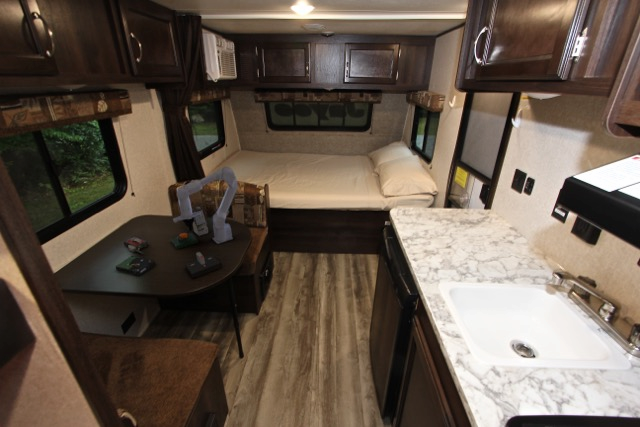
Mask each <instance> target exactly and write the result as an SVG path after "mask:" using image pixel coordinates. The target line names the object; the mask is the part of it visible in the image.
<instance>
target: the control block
mask: <svg viewBox="0 0 640 427" xmlns="http://www.w3.org/2000/svg"><path fill="white" fill-rule="evenodd" d="M170 242H171V244H172V246H174V248H175V249H176V250H179V249H182V248H186V247H189V246H191V245H192V246H193V245H195V244H198V243H199V239H198V238H197V237H196V236H195V235H194V234H193V232H190V233H187V237H186V238H184V239H181V238H180V236H179V235H178V236H177V237H174V238H171V239H170Z"/></svg>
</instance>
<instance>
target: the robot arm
mask: <svg viewBox="0 0 640 427" xmlns="http://www.w3.org/2000/svg"><path fill="white" fill-rule="evenodd" d="M215 181H220V182H223V181H224V182H225V183H226V184H227V188H226V190H225V192H224V194H223V198H222V200H221V203H220V204H219V207H218V209H217V210H216V212H215V213H214V214H213V215H212V224H213V225H212V229H213V236H214V237H212V240H213V241H214V242H215V243H216V244H217V245H219V244H222V243H225V242H228V241H231V240H233V239H234V237H233V234H232V233H233V232H232V228H231V225H230V224H229V223H226V218H227V214H228V212H229V210H230V206H231V204H232V202H233V199H234V198H235V195H236V192H237V190H238V187H239V185H238V181H237V177H236V174H235V172H234V171H233V169H232V168H231V166H230V167H229V166H223V167H222V168H218V169H217V170H215V171H213V172H212V173H210V174H208V175H207V176H205V177H203V178H201V179H200V180H199V179H195V180H194V179H192V180H191V181H190V182H189V183H186V184H183V185H181V186H179V187H177V189H176V198H177V200H178V205H179V209H180V215H178V216H176V217H174V218H172V221H173V223H175V224H176V223H178V222H183V223H184V224H185V226H186V227H187V230H188V231H189V232H191V231H193V222H194V218H193V217H196V216H202V215H201V212H194V213H192V208H191V207H192V203H191V198H190V196H191V195H193V194H195V193H197V192H199V191H201V190H203V187H204V186H206V185H209V184H210V183H212V182H215Z"/></svg>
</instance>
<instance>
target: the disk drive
mask: <svg viewBox="0 0 640 427" xmlns="http://www.w3.org/2000/svg"><path fill="white" fill-rule="evenodd" d="M155 265H156V261H155V260H153V259H149V258H144V257H141V256H136V255H135V256H134V255H131V256H129V257H128V258H126V259H124V260H123V261H122V262H120V263H119V264H116V265H115V267H114V268H115V270H116V271H118V272H122V273H125V274H130V275H134V276H138V277H139V276H141V275H143V274H144V273H145V272H147V271H149V270H150V269H151V268H153V267H154V266H155Z"/></svg>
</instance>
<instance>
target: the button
mask: <svg viewBox="0 0 640 427" xmlns="http://www.w3.org/2000/svg"><path fill="white" fill-rule="evenodd" d="M187 234H188V233H187V232H182V233H180V234H178V236H180V238H181V239H184V238H186V237H187Z"/></svg>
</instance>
